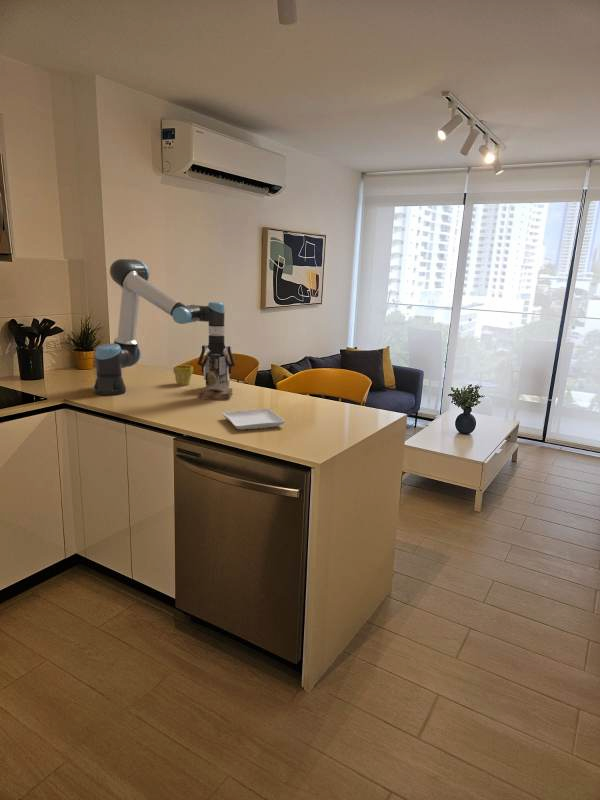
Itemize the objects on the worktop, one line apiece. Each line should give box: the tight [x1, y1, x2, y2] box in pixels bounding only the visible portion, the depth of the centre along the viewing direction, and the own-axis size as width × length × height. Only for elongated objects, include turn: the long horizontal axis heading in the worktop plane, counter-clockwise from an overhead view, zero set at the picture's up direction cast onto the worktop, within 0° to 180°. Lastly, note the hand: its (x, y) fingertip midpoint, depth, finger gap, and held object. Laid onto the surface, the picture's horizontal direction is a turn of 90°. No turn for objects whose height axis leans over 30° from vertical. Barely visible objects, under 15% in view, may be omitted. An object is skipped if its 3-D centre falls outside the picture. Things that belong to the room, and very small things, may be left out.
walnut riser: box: [199, 387, 233, 400], centre depth 265 cm, size 14×12×3 cm
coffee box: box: [204, 354, 227, 390], centre depth 263 cm, size 9×6×16 cm
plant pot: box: [172, 364, 194, 386], centre depth 290 cm, size 10×10×10 cm
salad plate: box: [221, 408, 286, 431], centre depth 222 cm, size 21×21×3 cm
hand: (216, 379), depth 264 cm, fingers closed on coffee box, 10 cm apart
